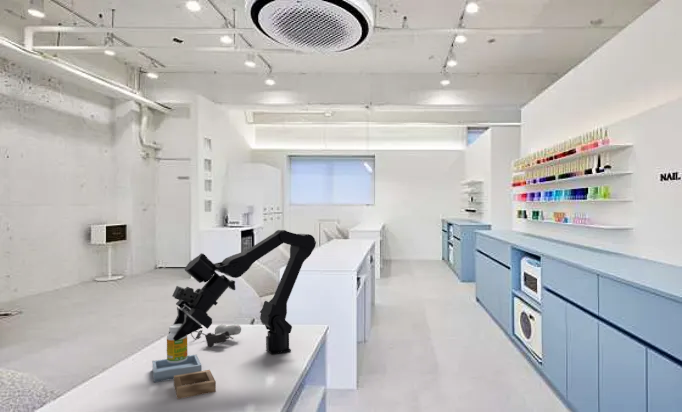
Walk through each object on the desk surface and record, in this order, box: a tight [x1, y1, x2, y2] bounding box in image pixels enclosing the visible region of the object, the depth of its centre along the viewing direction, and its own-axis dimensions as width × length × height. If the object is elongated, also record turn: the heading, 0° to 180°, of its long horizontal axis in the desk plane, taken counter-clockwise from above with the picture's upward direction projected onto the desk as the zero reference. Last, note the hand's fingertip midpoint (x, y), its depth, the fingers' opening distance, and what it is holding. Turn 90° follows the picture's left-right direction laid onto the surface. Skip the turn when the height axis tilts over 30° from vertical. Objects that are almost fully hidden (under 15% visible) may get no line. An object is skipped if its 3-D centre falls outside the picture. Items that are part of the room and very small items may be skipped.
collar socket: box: [173, 369, 217, 400], centre depth 107 cm, size 9×9×2 cm
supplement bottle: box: [166, 323, 189, 363], centre depth 119 cm, size 5×5×10 cm
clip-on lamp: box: [190, 323, 242, 348], centre depth 147 cm, size 12×6×18 cm
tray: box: [152, 354, 203, 383], centre depth 119 cm, size 12×10×2 cm
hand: (171, 337), depth 118 cm, fingers closed on supplement bottle, 5 cm apart
